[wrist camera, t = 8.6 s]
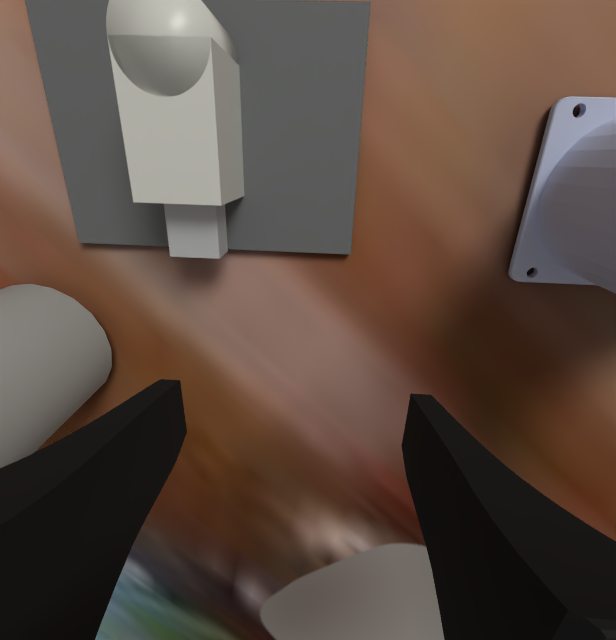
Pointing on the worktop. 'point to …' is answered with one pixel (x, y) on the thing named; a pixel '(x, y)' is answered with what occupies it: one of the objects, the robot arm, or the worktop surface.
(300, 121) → the mat
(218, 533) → the worktop surface
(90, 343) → the can
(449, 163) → the worktop surface
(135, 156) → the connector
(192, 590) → the worktop surface
